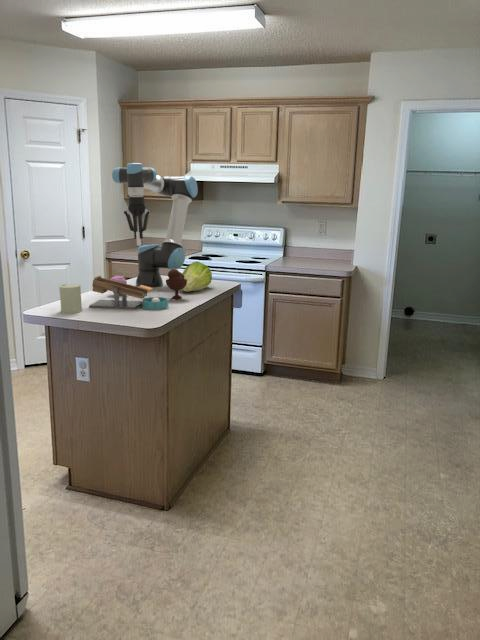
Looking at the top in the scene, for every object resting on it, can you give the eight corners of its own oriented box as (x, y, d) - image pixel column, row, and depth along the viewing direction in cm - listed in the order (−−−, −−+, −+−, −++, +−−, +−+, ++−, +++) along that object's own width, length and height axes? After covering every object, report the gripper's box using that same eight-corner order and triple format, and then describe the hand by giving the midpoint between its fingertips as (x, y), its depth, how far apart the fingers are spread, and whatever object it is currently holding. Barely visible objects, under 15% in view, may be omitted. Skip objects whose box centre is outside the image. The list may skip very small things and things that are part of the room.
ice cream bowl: (184, 301, 252) (183, 271, 248) (162, 300, 254) (161, 270, 250) (190, 297, 262) (190, 267, 258) (169, 295, 264) (169, 267, 260)
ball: (151, 298, 241) (158, 295, 240) (155, 306, 241) (162, 302, 241) (148, 300, 237) (156, 296, 236) (153, 308, 238) (160, 304, 237)
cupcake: (129, 295, 264) (128, 276, 261) (112, 297, 260) (111, 277, 257) (124, 292, 271) (123, 273, 269) (108, 293, 268) (107, 274, 265)
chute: (105, 284, 254) (107, 272, 252) (151, 296, 252) (153, 284, 250) (91, 291, 237) (93, 278, 235) (140, 304, 236) (143, 290, 234)
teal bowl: (147, 303, 246) (147, 296, 245) (170, 304, 244) (170, 297, 243) (139, 309, 235) (139, 301, 234) (164, 310, 233) (164, 302, 232)
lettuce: (202, 303, 270) (176, 304, 276) (217, 280, 289) (192, 281, 295) (194, 278, 263) (167, 280, 269) (210, 257, 282) (185, 259, 288)
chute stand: (100, 301, 249) (98, 282, 247) (143, 303, 247) (142, 283, 244) (89, 307, 237) (87, 287, 234) (135, 309, 234) (134, 289, 232)
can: (66, 308, 235) (64, 282, 232) (85, 308, 234) (83, 283, 231) (57, 312, 226) (55, 286, 223) (77, 313, 225) (75, 286, 222)
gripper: (120, 196, 244) (124, 246, 250) (147, 196, 243) (150, 246, 249) (125, 195, 251) (128, 244, 257) (151, 196, 250) (153, 244, 256)
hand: (139, 245), depth 253 cm, fingers closed
